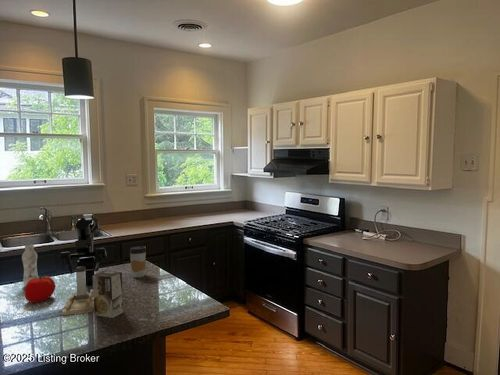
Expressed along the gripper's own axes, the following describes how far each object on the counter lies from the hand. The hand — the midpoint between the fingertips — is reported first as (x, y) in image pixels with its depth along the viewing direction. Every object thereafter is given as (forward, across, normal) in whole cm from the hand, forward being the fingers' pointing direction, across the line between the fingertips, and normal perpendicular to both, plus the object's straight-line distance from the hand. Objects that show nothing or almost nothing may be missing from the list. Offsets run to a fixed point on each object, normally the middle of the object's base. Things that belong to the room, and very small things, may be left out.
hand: (82, 272), depth 158 cm
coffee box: (+23, +12, -7) cm, 27 cm away
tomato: (+5, -18, +11) cm, 22 cm away
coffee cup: (-9, +22, +28) cm, 37 cm away
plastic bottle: (-11, -28, +27) cm, 40 cm away
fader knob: (+9, -1, +4) cm, 10 cm away
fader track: (+13, -1, +3) cm, 14 cm away
